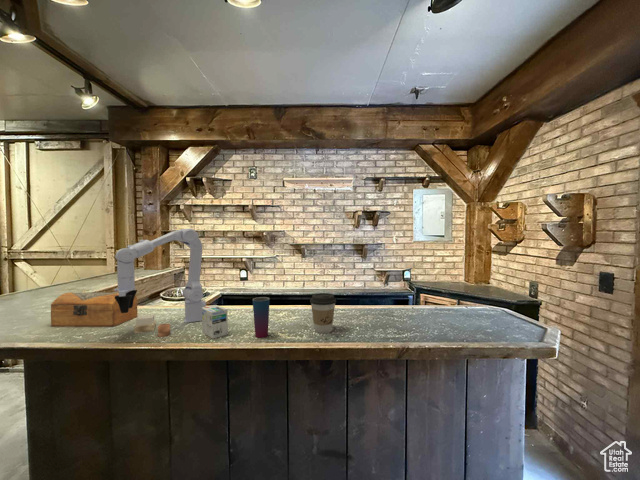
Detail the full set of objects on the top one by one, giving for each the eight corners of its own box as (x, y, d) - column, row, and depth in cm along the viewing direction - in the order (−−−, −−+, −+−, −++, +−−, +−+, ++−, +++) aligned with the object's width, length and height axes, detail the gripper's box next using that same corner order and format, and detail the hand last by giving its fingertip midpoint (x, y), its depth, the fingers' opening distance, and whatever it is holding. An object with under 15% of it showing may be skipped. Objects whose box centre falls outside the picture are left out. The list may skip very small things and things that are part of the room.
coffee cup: (317, 337, 107) (317, 300, 107) (305, 328, 117) (305, 294, 117) (341, 332, 112) (341, 296, 112) (328, 324, 122) (328, 291, 122)
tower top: (154, 320, 122) (154, 313, 122) (152, 324, 116) (152, 317, 116) (138, 322, 119) (138, 315, 119) (136, 326, 114) (135, 319, 114)
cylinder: (170, 332, 114) (170, 322, 114) (169, 335, 110) (169, 326, 110) (158, 334, 112) (158, 324, 112) (157, 337, 108) (157, 327, 108)
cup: (266, 339, 105) (265, 301, 105) (250, 338, 107) (249, 300, 106) (272, 333, 112) (272, 297, 112) (257, 332, 113) (256, 296, 113)
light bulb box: (228, 334, 111) (228, 308, 110) (212, 339, 106) (211, 312, 106) (217, 328, 118) (216, 304, 118) (201, 332, 113) (201, 307, 113)
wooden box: (47, 327, 121) (46, 297, 121) (82, 316, 138) (81, 289, 137) (111, 328, 119) (110, 297, 119) (138, 317, 136) (137, 289, 135)
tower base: (155, 326, 122) (155, 320, 122) (153, 331, 116) (153, 324, 116) (137, 329, 119) (137, 322, 119) (134, 334, 113) (134, 327, 113)
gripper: (118, 275, 115) (119, 307, 116) (108, 281, 102) (109, 316, 103) (138, 274, 118) (139, 305, 119) (131, 279, 105) (131, 314, 106)
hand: (126, 310), depth 111 cm, fingers open, 7 cm apart
